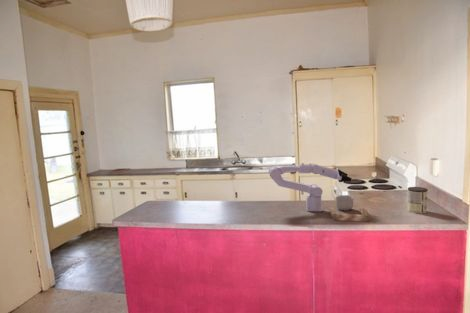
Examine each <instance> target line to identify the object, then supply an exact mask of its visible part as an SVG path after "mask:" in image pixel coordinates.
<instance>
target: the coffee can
mask: <svg viewBox="0 0 470 313" xmlns="http://www.w3.org/2000/svg"><path fill="white" fill-rule="evenodd" d="M427 208H428V189H427V188H426V187H422V186H409V187H407V212H409V213H413V214H420V215H421V214H427V210H428V209H427Z"/></svg>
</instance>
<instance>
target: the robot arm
mask: <svg viewBox="0 0 470 313" xmlns="http://www.w3.org/2000/svg"><path fill="white" fill-rule="evenodd" d="M289 172H290V173H291V172H294V173H295V172H298V173H299V174H314V175H320V176H323V177H327V178H330V179H333V180H338V182H339V183H343V182H352V177H350V176H348V173H346V172H344V171H342V170H340V169H339V168H338V167H337V168H336V169H335V168H330V167H327V166H322V165H318V164H316V163H307V164H305V163H304V162H303V163H301V164H298V165H296V166H294V165H293V166H291V165H290V166H289V165H277V166H271V167H270V168H269V170H268V174H269V176H270V178H271V179H272V180H273V181H274V183H276V185H277V186H278V187H282V188H286V189H290V190H295V191H300V192H304V193H306V194H309V195H307V196H306V197H305V198H306V199H305V200H306V201H305V208H306V212H323V211H324V210H323V208H322V195H323V188H322V187H320V186H318V185H317V184H313V183H312V184H306V183H301V182H298V181H297V182H296V181H292V180H288V179H284V178H283V177H282V175H284V174H285V173H289Z"/></svg>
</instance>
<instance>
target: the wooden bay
mask: <svg viewBox="0 0 470 313" xmlns="http://www.w3.org/2000/svg"><path fill="white" fill-rule="evenodd" d="M359 213H360V214H355V213H353V214H351V213H350V214H349V213H337V212H336V210H335V209H334V207H333V206H329V214H330V216H331V218H332V220H333V221H346V222H347V221H350V222H351V221H354V222H372V216H371V214H370V213H369V212H368V211H367V210H366V209H365V207H359Z"/></svg>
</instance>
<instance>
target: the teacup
mask: <svg viewBox="0 0 470 313" xmlns="http://www.w3.org/2000/svg"><path fill="white" fill-rule="evenodd" d="M334 198H335V206H336V208H337V209H338V210H339V211H343V210H344V211H345V212H346V211H351V209H353V207H354V196H351V195H343V194H342V195H337V196H336V197H334Z"/></svg>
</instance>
